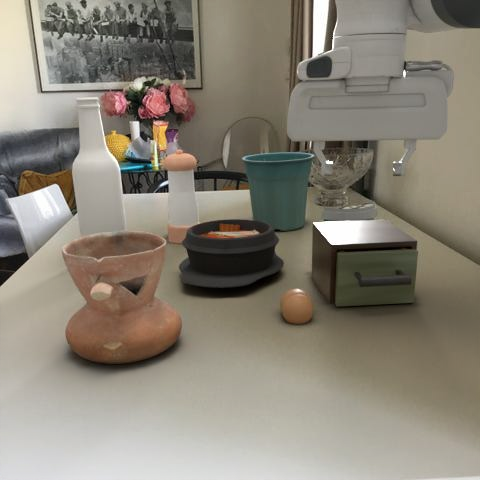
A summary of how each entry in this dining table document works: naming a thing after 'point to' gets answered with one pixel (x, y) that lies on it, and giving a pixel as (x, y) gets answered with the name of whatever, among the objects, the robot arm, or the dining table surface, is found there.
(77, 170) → the alcohol
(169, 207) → the salt shaker
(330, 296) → the cabinet
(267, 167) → the flower pot
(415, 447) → the dining table surface
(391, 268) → the drawer
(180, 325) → the ceramic jug
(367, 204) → the food container
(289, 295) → the egg
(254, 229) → the casserole
